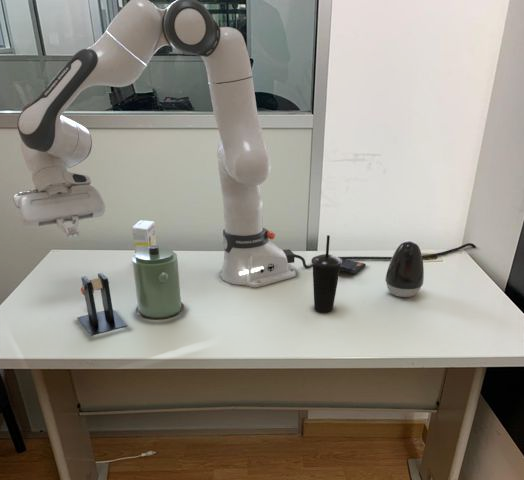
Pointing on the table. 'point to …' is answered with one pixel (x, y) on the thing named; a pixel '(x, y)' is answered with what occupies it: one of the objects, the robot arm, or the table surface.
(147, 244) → the ink box
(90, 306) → the switch bracket
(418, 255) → the black egg-shaped device
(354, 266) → the calculator
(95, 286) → the switch lever
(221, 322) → the table surface
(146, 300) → the green canister
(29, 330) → the table surface
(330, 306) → the drinking cup
